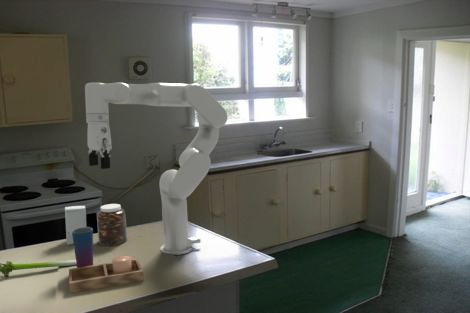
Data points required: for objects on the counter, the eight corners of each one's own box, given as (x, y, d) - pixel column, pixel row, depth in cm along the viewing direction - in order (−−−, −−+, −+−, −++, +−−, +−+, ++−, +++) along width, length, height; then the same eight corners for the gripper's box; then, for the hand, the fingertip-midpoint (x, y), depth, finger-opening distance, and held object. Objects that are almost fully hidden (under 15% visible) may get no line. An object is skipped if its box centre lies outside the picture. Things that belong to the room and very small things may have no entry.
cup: (89, 276, 147) (86, 233, 145) (71, 275, 148) (67, 232, 146) (99, 268, 153) (96, 227, 151) (82, 267, 155) (78, 226, 153)
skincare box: (67, 245, 179) (64, 210, 177) (66, 240, 185) (63, 206, 182) (88, 242, 182) (85, 207, 180) (87, 237, 188) (84, 204, 186)
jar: (133, 240, 183) (130, 205, 181) (108, 247, 174) (106, 211, 172) (116, 234, 191) (114, 201, 189) (92, 242, 182) (90, 207, 180)
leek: (81, 273, 154) (-15, 281, 144) (81, 269, 161) (-11, 276, 150) (81, 256, 154) (-14, 262, 144) (81, 252, 161) (-11, 258, 151)
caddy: (137, 269, 152) (137, 258, 151) (143, 282, 140) (142, 271, 140) (70, 280, 144) (69, 268, 143) (70, 295, 133) (69, 283, 132)
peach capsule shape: (130, 271, 148) (129, 254, 147) (133, 278, 142) (132, 260, 141) (112, 274, 146) (111, 257, 145) (114, 281, 140) (113, 263, 139)
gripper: (118, 119, 148) (120, 168, 150) (97, 117, 161) (99, 163, 163) (97, 119, 143) (99, 171, 145) (77, 118, 156) (79, 165, 158)
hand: (99, 166), depth 154 cm, fingers open, 9 cm apart
